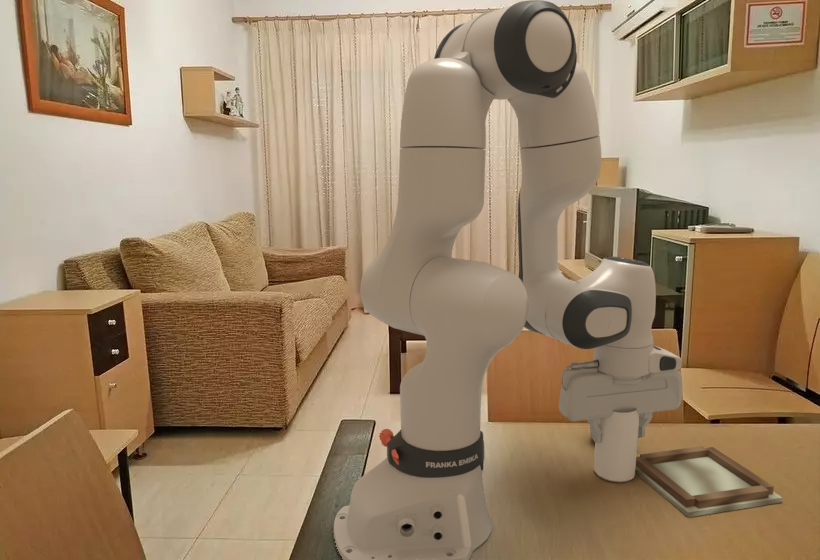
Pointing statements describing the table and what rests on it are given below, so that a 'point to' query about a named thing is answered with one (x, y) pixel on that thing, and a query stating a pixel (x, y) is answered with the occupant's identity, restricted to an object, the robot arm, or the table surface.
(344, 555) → the robot arm
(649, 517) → the table surface
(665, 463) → the wooden picture frame
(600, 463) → the can
